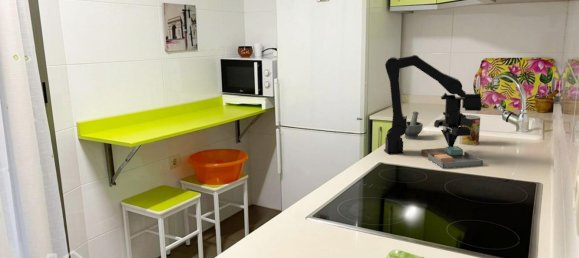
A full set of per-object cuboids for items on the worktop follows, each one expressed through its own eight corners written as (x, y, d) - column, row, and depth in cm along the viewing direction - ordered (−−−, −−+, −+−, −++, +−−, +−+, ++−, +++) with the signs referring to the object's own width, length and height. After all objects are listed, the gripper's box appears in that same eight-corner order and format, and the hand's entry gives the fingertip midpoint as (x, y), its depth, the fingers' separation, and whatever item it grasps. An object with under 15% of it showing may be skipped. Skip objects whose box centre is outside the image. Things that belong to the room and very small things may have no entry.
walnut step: (429, 159, 179) (430, 154, 178) (421, 153, 186) (421, 149, 186) (462, 156, 181) (462, 152, 180) (452, 151, 188) (452, 147, 188)
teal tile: (450, 154, 177) (450, 149, 177) (445, 151, 182) (445, 146, 182) (462, 154, 178) (463, 149, 177) (457, 150, 183) (457, 146, 182)
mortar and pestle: (417, 141, 207) (418, 115, 204) (398, 138, 212) (398, 113, 209) (425, 136, 216) (426, 111, 213) (406, 133, 221) (406, 109, 218)
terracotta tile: (440, 163, 172) (440, 158, 171) (434, 159, 177) (434, 154, 176) (452, 162, 173) (452, 157, 172) (445, 158, 177) (445, 153, 177)
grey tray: (442, 168, 167) (442, 163, 166) (427, 159, 178) (428, 154, 178) (482, 165, 169) (482, 160, 169) (465, 156, 181) (465, 151, 180)
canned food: (480, 145, 197) (482, 118, 194) (461, 144, 198) (462, 118, 196) (476, 140, 204) (478, 115, 202) (458, 140, 206) (459, 114, 203)
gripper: (484, 113, 172) (482, 152, 175) (459, 105, 190) (457, 141, 193) (458, 115, 170) (455, 154, 174) (434, 106, 188) (432, 142, 191)
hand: (450, 148), depth 183 cm, fingers closed
